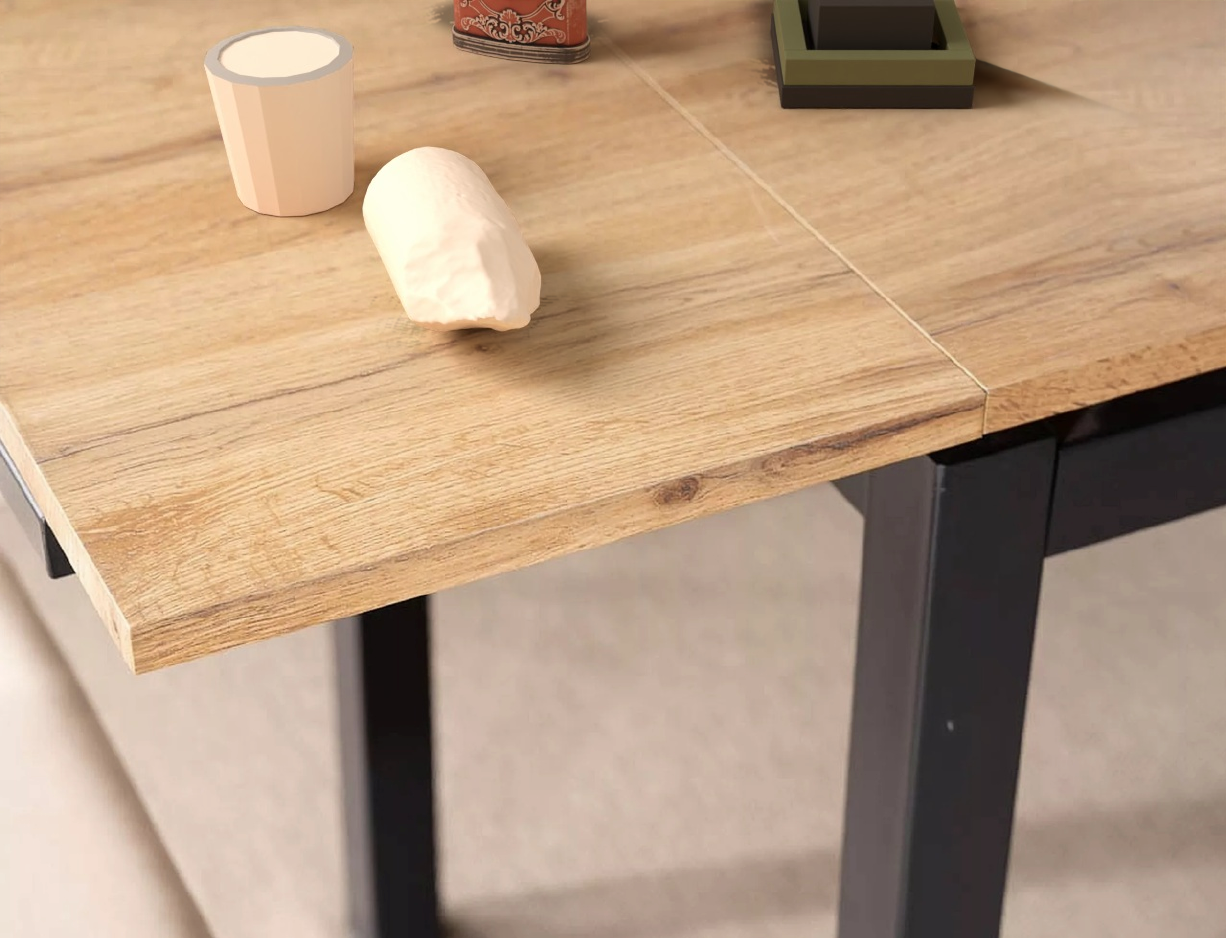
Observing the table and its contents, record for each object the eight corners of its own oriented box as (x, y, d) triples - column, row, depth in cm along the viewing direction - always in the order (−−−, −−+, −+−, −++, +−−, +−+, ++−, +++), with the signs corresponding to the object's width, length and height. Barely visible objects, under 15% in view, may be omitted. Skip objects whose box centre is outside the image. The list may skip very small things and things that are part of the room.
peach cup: (231, 231, 81) (210, 91, 77) (218, 166, 86) (197, 31, 82) (378, 211, 83) (364, 73, 78) (356, 148, 88) (342, 15, 84)
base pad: (946, 32, 99) (951, -14, 98) (972, 108, 91) (978, 59, 90) (770, 32, 99) (772, -14, 98) (780, 108, 91) (783, 59, 90)
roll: (429, 408, 69) (418, 287, 66) (366, 265, 79) (354, 151, 75) (573, 381, 71) (570, 261, 68) (495, 243, 80) (489, 131, 77)
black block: (914, 26, 97) (921, -37, 95) (928, 71, 92) (935, 5, 90) (806, 26, 97) (810, -37, 95) (815, 71, 92) (819, 5, 90)
